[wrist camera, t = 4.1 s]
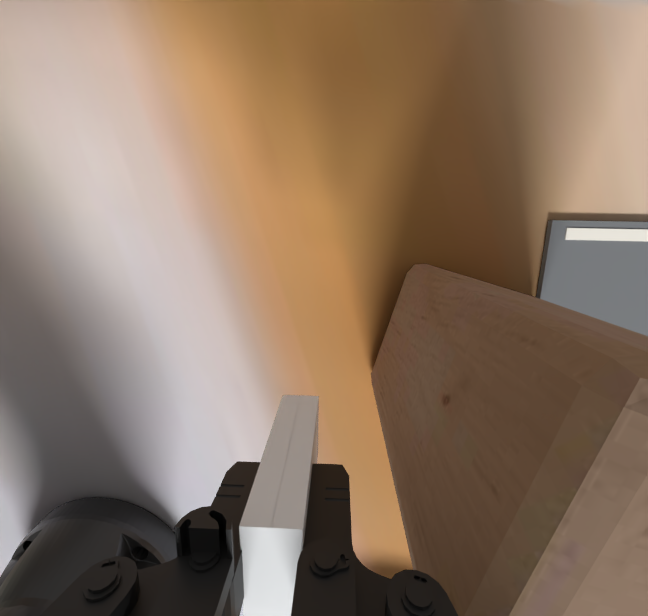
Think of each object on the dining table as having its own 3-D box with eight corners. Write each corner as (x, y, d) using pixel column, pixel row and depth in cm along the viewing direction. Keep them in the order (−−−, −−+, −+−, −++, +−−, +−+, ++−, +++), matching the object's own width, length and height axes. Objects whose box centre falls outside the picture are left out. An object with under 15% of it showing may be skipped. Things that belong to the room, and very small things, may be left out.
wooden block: (408, 258, 25) (650, 359, 6) (538, 297, 26) (1184, 519, 6) (366, 379, 27) (435, 748, 8) (485, 414, 28) (832, 852, 8)
